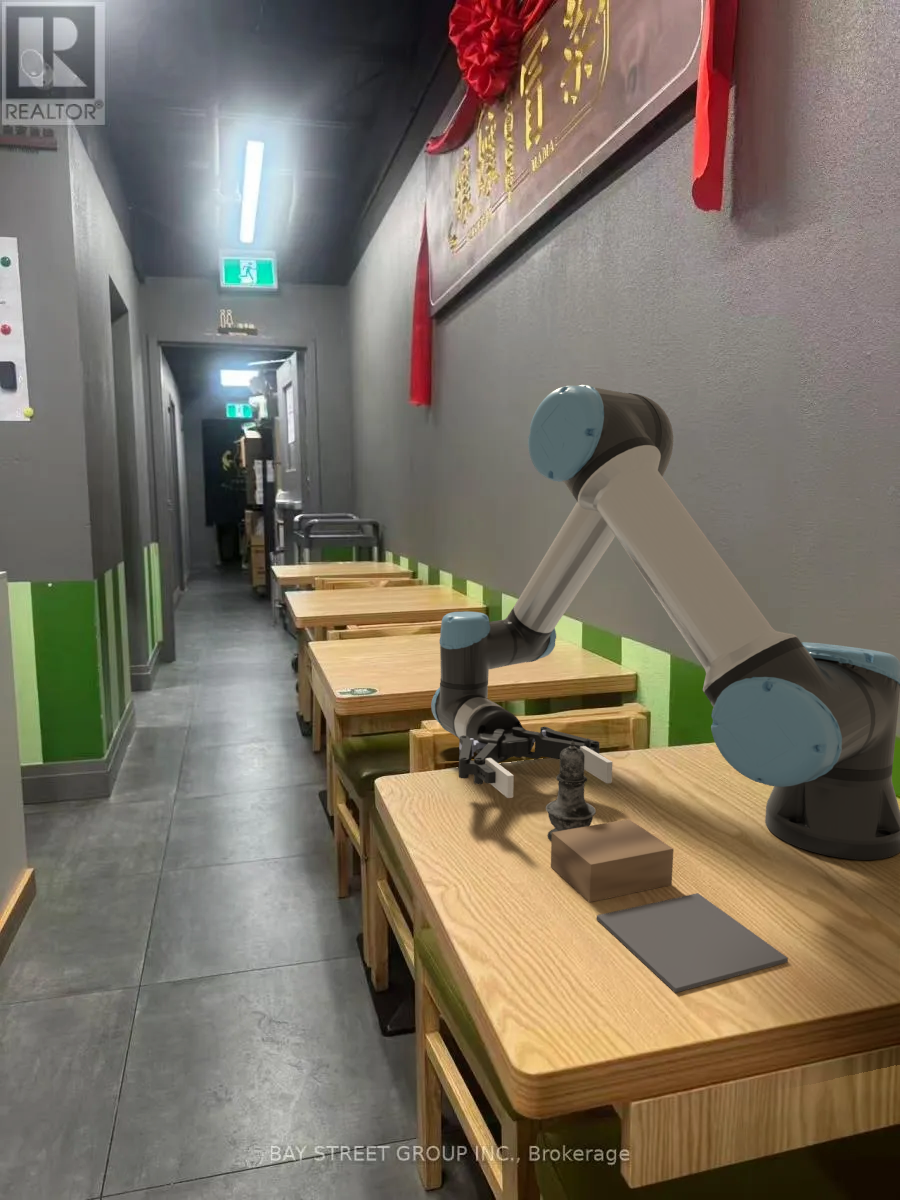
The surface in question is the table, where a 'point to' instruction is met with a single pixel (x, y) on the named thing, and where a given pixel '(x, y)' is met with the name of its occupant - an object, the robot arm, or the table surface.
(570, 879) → the ledge block
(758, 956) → the mat
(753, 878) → the table surface
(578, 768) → the salt shaker
